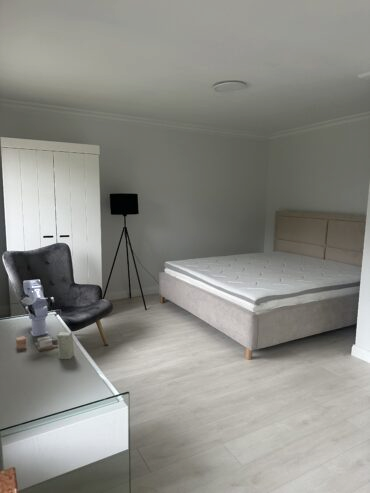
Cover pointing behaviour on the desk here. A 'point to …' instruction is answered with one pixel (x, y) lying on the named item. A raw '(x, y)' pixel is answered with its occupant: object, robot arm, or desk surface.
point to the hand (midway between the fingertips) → (42, 312)
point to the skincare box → (65, 345)
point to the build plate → (46, 343)
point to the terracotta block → (21, 342)
